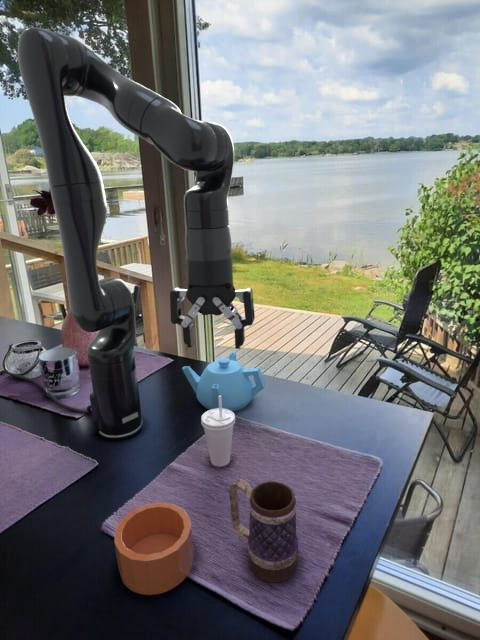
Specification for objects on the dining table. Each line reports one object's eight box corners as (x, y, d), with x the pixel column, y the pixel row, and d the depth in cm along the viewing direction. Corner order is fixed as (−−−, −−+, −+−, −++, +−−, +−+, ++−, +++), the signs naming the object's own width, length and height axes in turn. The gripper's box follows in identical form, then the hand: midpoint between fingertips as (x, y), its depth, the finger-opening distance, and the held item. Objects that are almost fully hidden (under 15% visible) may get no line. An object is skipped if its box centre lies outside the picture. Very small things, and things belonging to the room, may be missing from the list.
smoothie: (233, 472, 81) (230, 406, 77) (199, 469, 82) (194, 403, 78) (240, 452, 87) (237, 388, 83) (208, 448, 88) (204, 386, 84)
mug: (306, 556, 63) (308, 487, 59) (283, 594, 58) (282, 521, 54) (247, 527, 69) (244, 462, 65) (220, 559, 63) (216, 490, 59)
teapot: (213, 424, 97) (210, 380, 93) (182, 397, 109) (179, 357, 105) (269, 404, 104) (268, 362, 101) (235, 380, 117) (233, 343, 113)
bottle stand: (106, 589, 59) (100, 555, 57) (137, 530, 69) (132, 498, 67) (181, 600, 57) (177, 565, 56) (201, 537, 67) (199, 505, 65)
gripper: (255, 250, 74) (257, 340, 79) (174, 250, 77) (181, 337, 82) (248, 259, 67) (251, 356, 72) (159, 259, 70) (168, 353, 75)
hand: (214, 346), depth 77 cm, fingers open, 8 cm apart
